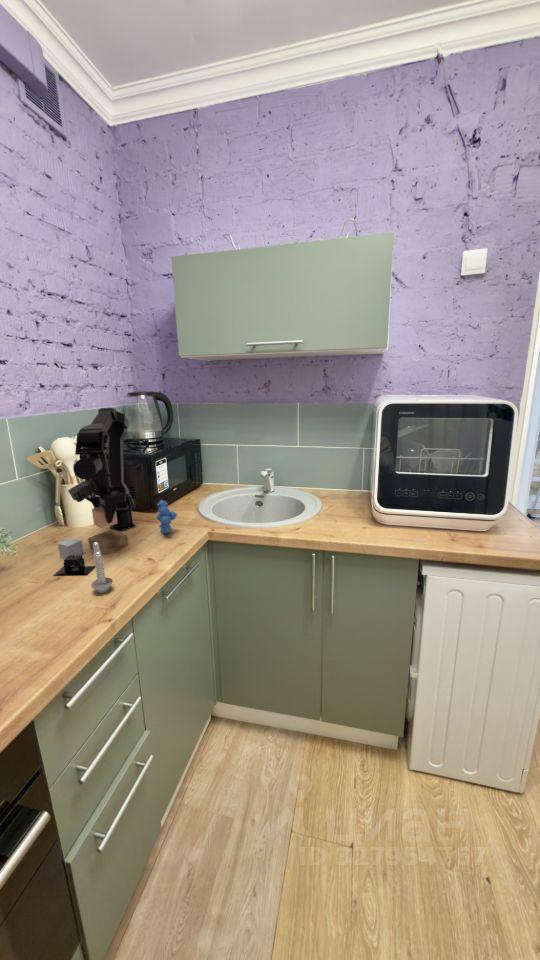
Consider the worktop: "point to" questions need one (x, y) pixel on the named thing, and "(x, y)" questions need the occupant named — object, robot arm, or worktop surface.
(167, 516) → the grapes
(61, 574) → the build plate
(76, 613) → the worktop surface
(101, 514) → the terracotta cube
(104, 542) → the walnut block
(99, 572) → the screw
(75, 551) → the slate cube
